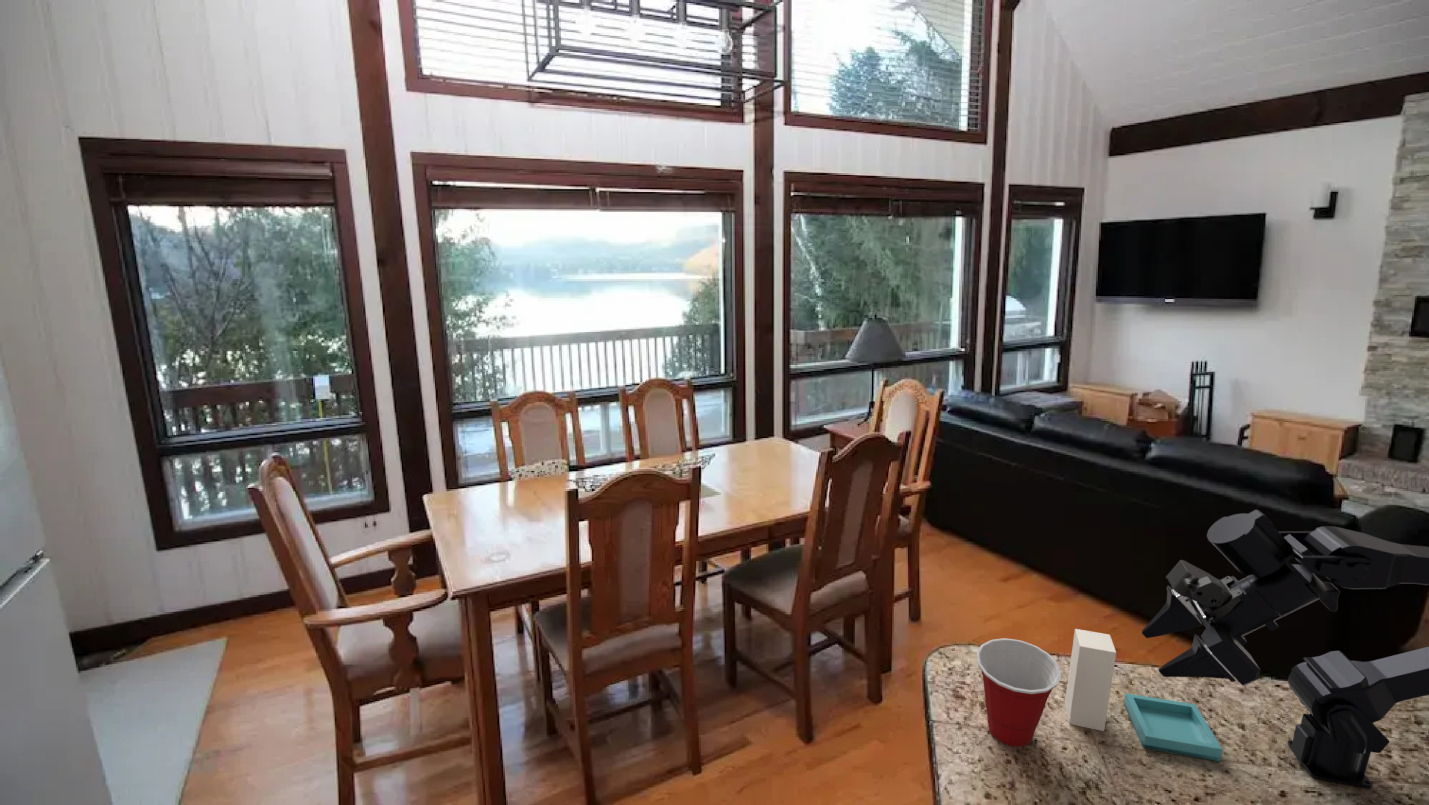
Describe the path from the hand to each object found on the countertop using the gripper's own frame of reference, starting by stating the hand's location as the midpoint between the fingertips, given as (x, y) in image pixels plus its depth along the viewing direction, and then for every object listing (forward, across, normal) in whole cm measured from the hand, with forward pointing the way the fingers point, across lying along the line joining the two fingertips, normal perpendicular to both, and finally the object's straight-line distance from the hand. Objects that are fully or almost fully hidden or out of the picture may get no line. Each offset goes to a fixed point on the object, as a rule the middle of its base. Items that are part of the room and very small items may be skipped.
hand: (1151, 653), depth 91 cm
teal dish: (+6, -1, +12) cm, 13 cm away
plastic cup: (+21, +7, -3) cm, 23 cm away
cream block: (+14, 0, +4) cm, 14 cm away
